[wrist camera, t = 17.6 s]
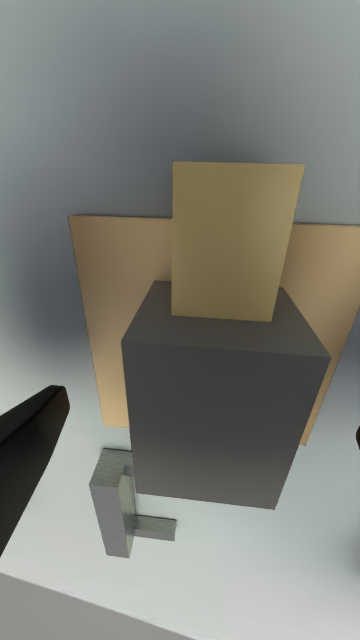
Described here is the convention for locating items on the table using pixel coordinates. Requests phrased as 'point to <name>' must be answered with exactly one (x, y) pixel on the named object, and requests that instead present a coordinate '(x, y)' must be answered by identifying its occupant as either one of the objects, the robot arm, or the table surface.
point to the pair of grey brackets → (122, 505)
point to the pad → (156, 264)
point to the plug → (222, 343)
